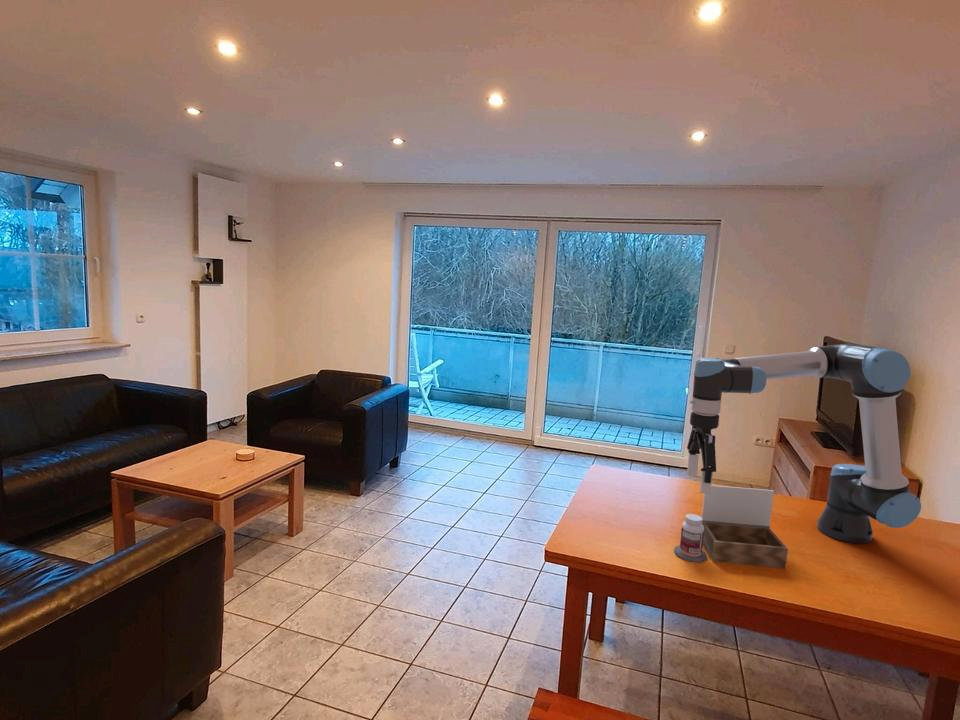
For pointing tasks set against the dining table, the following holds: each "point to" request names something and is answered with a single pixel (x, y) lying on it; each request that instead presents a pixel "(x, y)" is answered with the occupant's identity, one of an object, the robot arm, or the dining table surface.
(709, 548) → the box
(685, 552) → the pill bottle
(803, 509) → the dining table surface
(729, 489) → the frame lid
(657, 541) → the dining table surface
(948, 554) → the dining table surface
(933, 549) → the dining table surface
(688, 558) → the grey round disc
